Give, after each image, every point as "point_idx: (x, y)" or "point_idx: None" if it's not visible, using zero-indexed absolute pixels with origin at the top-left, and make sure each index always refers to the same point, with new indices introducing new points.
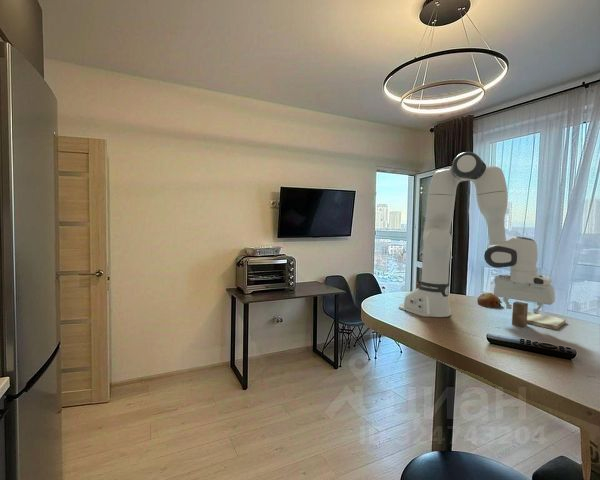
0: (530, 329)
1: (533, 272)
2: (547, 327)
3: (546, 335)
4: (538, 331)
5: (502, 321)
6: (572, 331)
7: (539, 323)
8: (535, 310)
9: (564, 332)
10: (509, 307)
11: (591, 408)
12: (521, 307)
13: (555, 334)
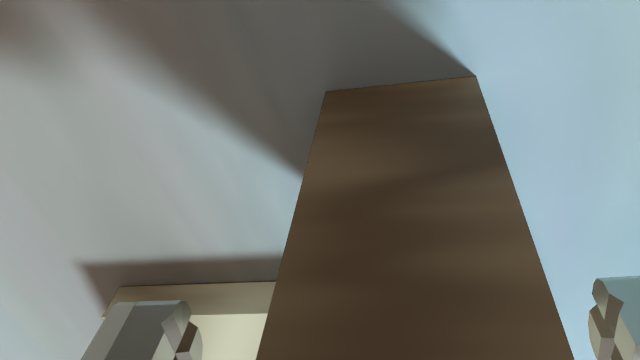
0: (234, 83)
1: None
2: (189, 288)
3: (3, 2)
4: (145, 86)
5: (630, 120)
6: (53, 339)
7: (253, 304)
8: (126, 344)
9: (47, 269)
10: (628, 299)
11: None
12: (338, 299)
13: (15, 138)
